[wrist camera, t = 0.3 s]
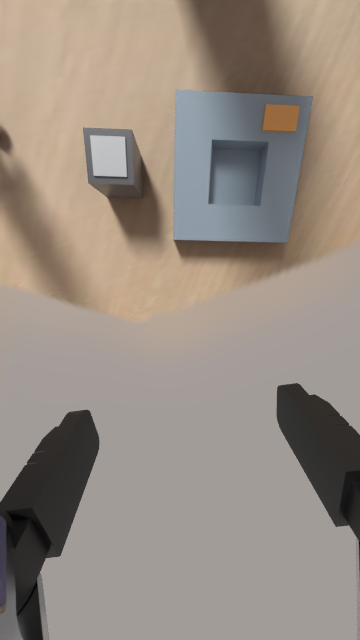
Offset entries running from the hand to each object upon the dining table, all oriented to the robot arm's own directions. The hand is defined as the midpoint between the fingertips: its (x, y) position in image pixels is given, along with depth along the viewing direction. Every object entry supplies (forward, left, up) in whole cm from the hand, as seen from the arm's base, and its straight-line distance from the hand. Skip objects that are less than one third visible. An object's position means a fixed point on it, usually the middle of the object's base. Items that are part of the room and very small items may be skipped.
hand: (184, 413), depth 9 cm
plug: (-16, -8, -27) cm, 32 cm away
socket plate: (-16, +7, -27) cm, 32 cm away
